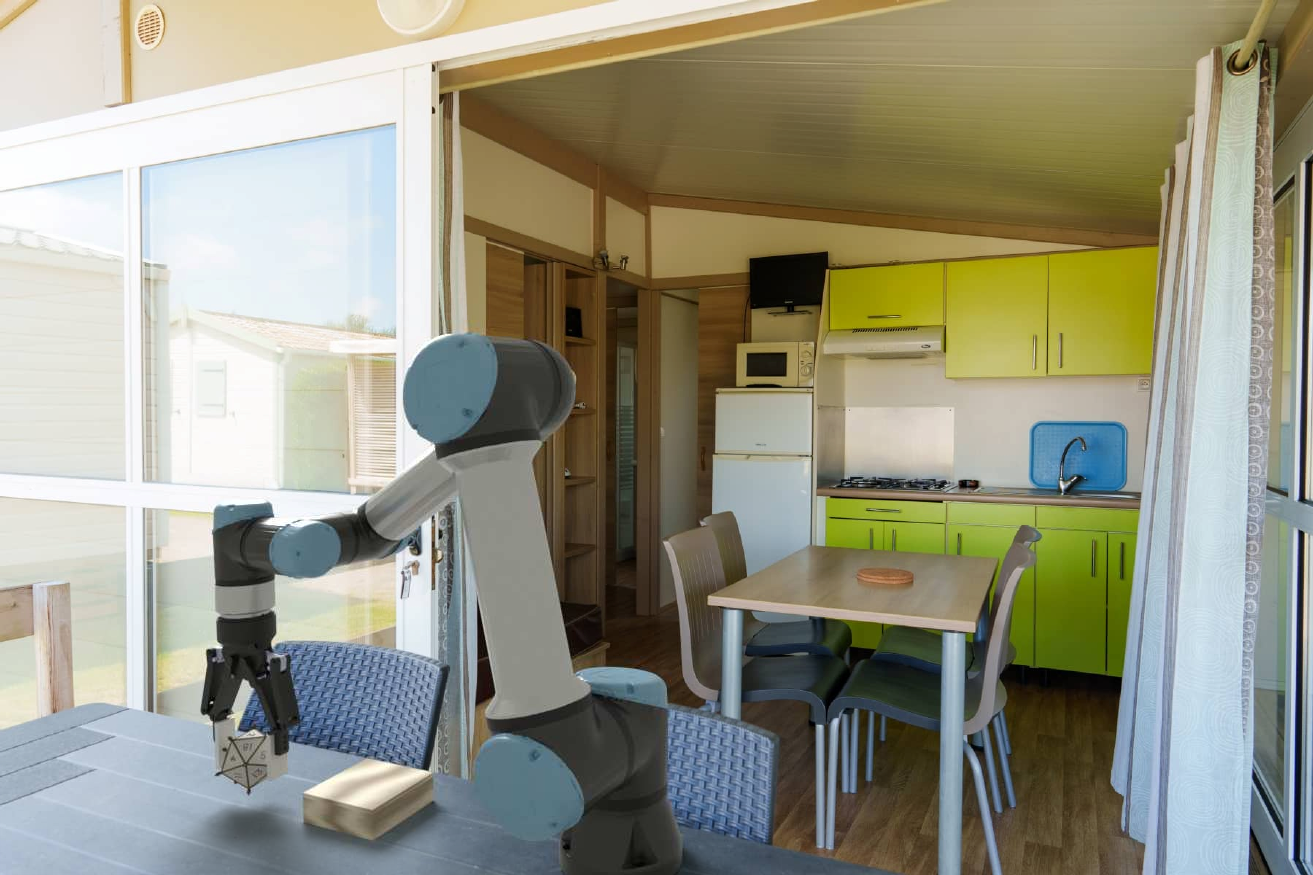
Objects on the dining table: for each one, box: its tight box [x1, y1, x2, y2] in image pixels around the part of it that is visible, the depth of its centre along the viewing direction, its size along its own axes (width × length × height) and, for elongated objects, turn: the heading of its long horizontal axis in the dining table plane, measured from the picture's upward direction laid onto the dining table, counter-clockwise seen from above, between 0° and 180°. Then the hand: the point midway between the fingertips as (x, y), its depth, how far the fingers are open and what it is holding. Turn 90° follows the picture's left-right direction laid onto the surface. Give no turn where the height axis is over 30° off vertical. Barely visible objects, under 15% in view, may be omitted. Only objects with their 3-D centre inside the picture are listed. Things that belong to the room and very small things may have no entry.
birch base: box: [302, 758, 435, 841], centre depth 117 cm, size 12×12×4 cm
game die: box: [214, 722, 268, 797], centre depth 119 cm, size 9×8×10 cm
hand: (251, 770), depth 119 cm, fingers closed on game die, 9 cm apart
